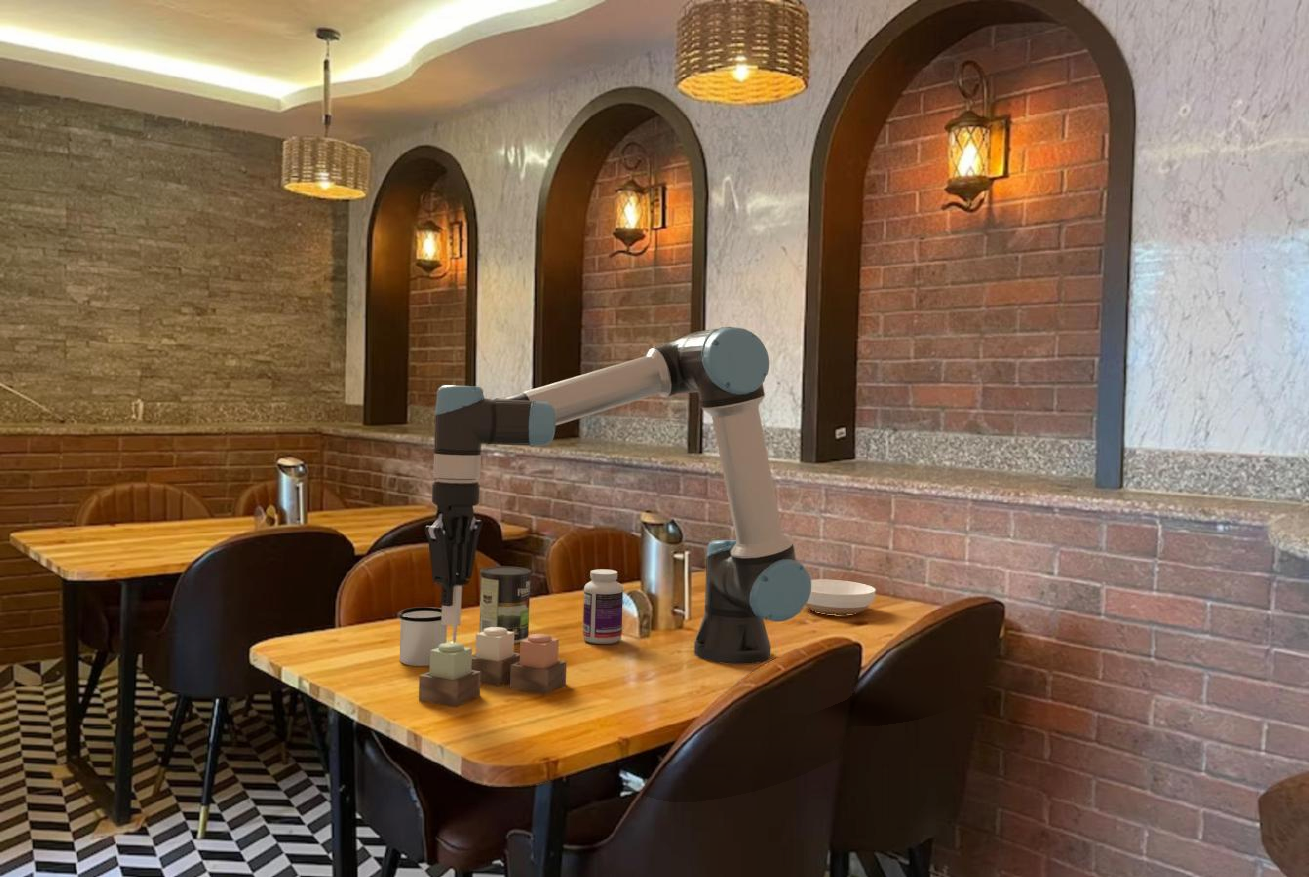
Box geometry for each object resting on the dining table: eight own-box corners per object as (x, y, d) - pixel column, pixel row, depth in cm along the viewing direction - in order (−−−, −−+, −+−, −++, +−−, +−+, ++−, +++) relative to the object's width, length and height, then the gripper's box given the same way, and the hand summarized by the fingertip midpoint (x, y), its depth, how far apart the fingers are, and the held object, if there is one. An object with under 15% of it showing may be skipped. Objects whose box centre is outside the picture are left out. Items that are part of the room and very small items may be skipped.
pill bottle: (628, 639, 202) (630, 570, 201) (610, 647, 194) (612, 576, 194) (593, 634, 205) (596, 566, 205) (575, 642, 198) (577, 572, 197)
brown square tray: (479, 695, 160) (480, 671, 160) (454, 706, 154) (455, 682, 154) (444, 688, 163) (445, 665, 163) (418, 699, 157) (419, 675, 156)
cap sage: (470, 684, 160) (472, 644, 159) (453, 691, 155) (454, 650, 155) (446, 679, 162) (447, 640, 161) (429, 687, 157) (430, 646, 157)
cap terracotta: (557, 673, 168) (558, 635, 168) (543, 680, 163) (544, 641, 163) (533, 669, 170) (534, 631, 170) (519, 675, 165) (520, 637, 165)
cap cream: (513, 665, 171) (514, 628, 171) (498, 672, 167) (499, 634, 167) (490, 661, 173) (491, 625, 173) (474, 668, 169) (476, 630, 169)
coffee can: (535, 634, 203) (537, 567, 202) (519, 646, 193) (521, 576, 192) (489, 630, 205) (491, 564, 204) (470, 642, 195) (472, 572, 194)
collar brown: (565, 683, 169) (566, 661, 168) (545, 694, 162) (546, 670, 162) (531, 677, 171) (531, 655, 171) (509, 688, 165) (510, 664, 165)
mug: (415, 670, 173) (416, 620, 173) (386, 659, 180) (387, 611, 179) (470, 659, 182) (471, 611, 182) (440, 649, 188) (442, 603, 188)
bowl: (885, 610, 241) (887, 586, 241) (857, 624, 224) (859, 598, 224) (812, 599, 251) (813, 576, 251) (780, 612, 235) (782, 586, 235)
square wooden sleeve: (521, 676, 172) (522, 654, 172) (499, 686, 166) (500, 663, 166) (488, 670, 175) (488, 648, 175) (465, 680, 169) (466, 657, 168)
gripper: (460, 476, 165) (455, 614, 165) (412, 480, 153) (406, 629, 153) (498, 480, 162) (492, 620, 162) (451, 484, 150) (445, 635, 150)
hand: (450, 624), depth 158 cm, fingers closed
